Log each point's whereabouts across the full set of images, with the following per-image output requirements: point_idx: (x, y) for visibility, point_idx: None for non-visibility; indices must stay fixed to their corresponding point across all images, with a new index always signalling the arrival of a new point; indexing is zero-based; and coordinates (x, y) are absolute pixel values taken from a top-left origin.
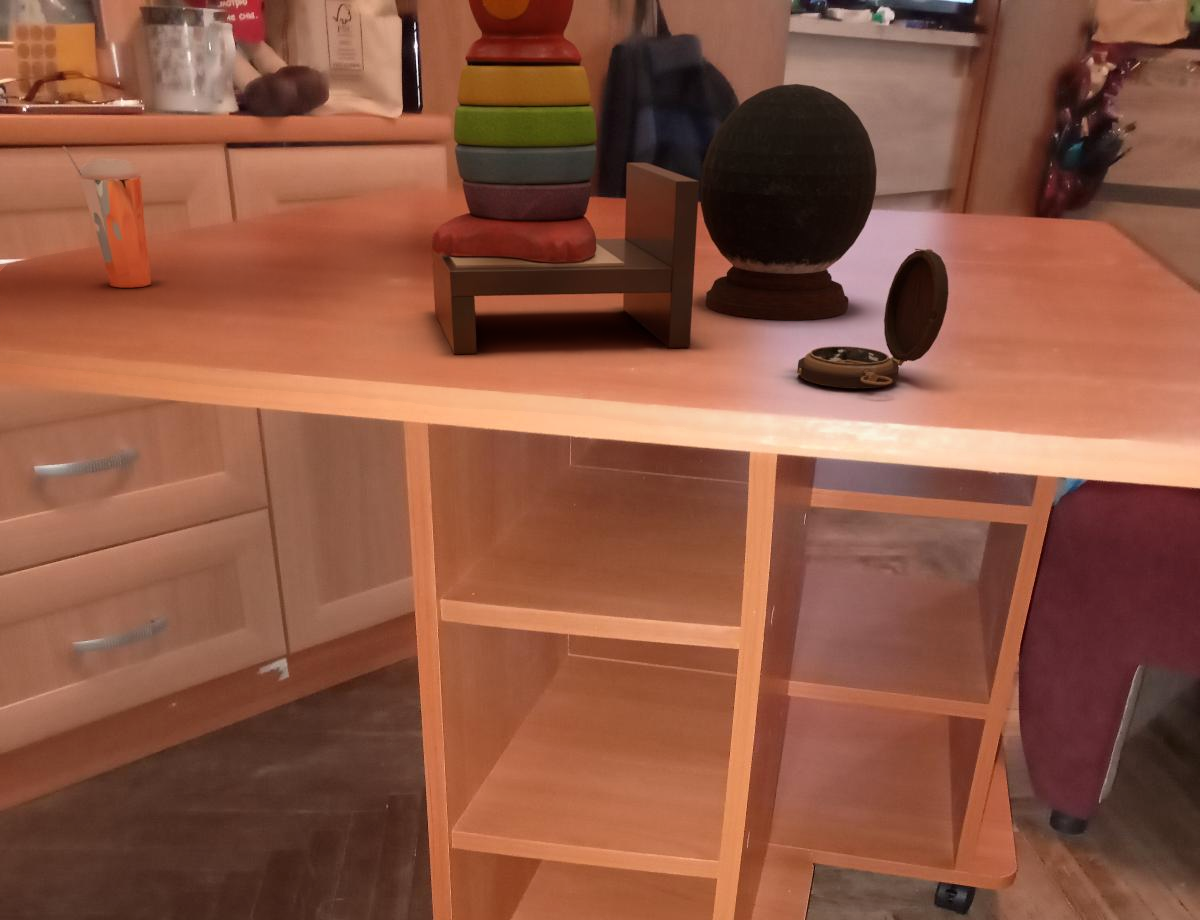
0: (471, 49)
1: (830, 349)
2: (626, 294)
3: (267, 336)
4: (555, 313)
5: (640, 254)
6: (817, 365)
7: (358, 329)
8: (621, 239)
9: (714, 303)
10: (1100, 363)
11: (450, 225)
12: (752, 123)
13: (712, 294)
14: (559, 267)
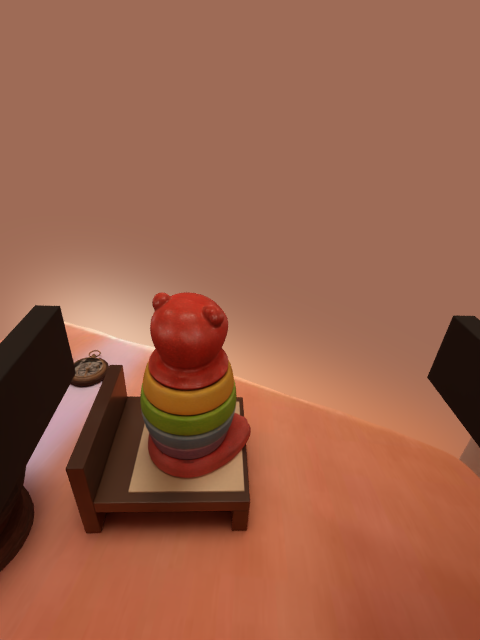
0: (225, 353)
1: (84, 377)
2: (102, 514)
3: (343, 472)
4: (157, 525)
5: (122, 433)
6: (105, 364)
7: (294, 485)
8: (98, 498)
9: (31, 519)
10: None
11: (240, 417)
12: None
13: (22, 530)
14: None
